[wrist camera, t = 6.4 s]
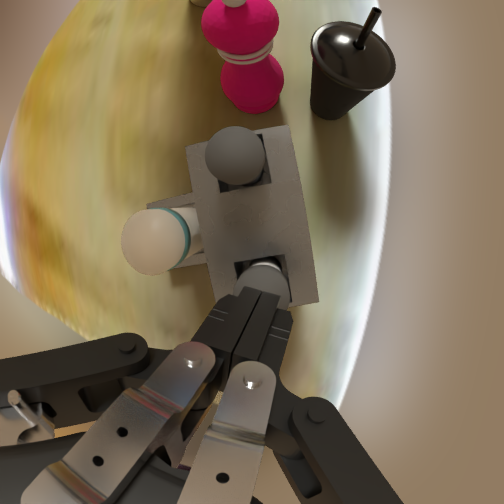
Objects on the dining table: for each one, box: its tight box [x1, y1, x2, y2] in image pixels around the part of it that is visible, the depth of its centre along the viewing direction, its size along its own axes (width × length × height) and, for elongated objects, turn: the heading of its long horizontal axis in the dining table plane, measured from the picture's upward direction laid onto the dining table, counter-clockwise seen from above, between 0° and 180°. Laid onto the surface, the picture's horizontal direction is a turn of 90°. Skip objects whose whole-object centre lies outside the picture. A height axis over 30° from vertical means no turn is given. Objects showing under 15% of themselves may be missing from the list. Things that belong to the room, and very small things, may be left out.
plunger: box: [205, 126, 265, 186], centre depth 17 cm, size 3×3×6 cm
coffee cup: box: [121, 207, 203, 275], centre depth 26 cm, size 5×5×14 cm
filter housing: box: [146, 125, 319, 307], centre depth 26 cm, size 12×17×16 cm
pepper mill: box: [201, 0, 284, 114], centre depth 21 cm, size 7×7×20 cm
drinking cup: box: [310, 7, 396, 120], centre depth 20 cm, size 8×8×20 cm
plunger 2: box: [233, 256, 290, 310], centre depth 18 cm, size 3×3×6 cm
